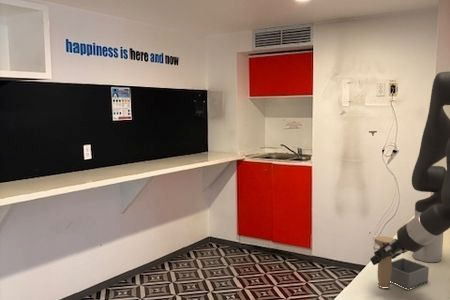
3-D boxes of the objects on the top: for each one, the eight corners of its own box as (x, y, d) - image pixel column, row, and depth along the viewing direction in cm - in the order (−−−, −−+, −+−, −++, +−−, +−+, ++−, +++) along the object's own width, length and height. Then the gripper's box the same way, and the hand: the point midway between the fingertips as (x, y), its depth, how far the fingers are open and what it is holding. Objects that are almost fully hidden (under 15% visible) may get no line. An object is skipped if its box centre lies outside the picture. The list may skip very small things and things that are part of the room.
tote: (402, 272, 139) (402, 257, 138) (427, 282, 131) (428, 267, 130) (382, 279, 133) (383, 264, 133) (408, 290, 126) (409, 274, 125)
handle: (375, 281, 132) (377, 235, 130) (397, 287, 128) (399, 239, 126) (370, 287, 128) (372, 239, 126) (392, 292, 124) (395, 243, 122)
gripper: (425, 216, 123) (389, 243, 134) (394, 225, 115) (359, 252, 126) (441, 239, 119) (403, 265, 130) (411, 249, 111) (373, 275, 122)
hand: (381, 259), depth 128 cm, fingers open, 8 cm apart
